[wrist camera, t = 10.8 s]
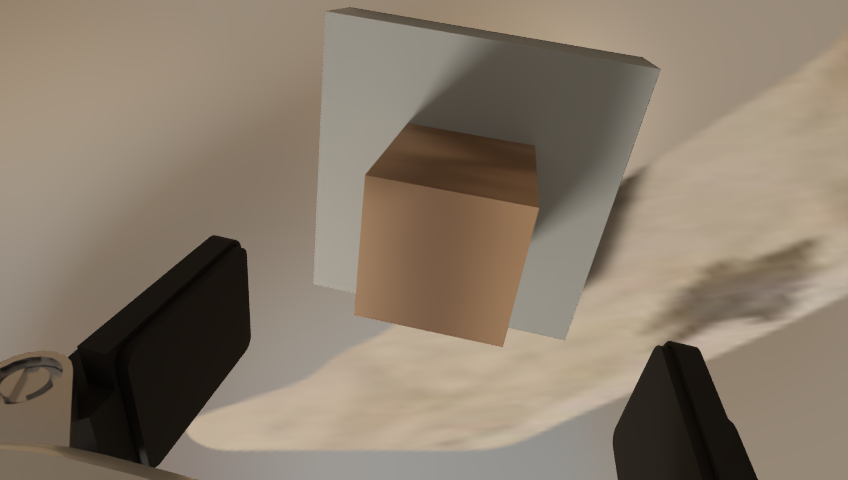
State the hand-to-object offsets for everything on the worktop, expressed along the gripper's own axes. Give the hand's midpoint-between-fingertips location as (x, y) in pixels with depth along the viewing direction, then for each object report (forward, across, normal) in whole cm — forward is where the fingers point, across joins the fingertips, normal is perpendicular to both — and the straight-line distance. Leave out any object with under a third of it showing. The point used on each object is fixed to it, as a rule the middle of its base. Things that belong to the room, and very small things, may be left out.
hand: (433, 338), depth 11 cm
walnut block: (+10, +1, +1) cm, 10 cm away
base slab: (+13, +1, +1) cm, 13 cm away
